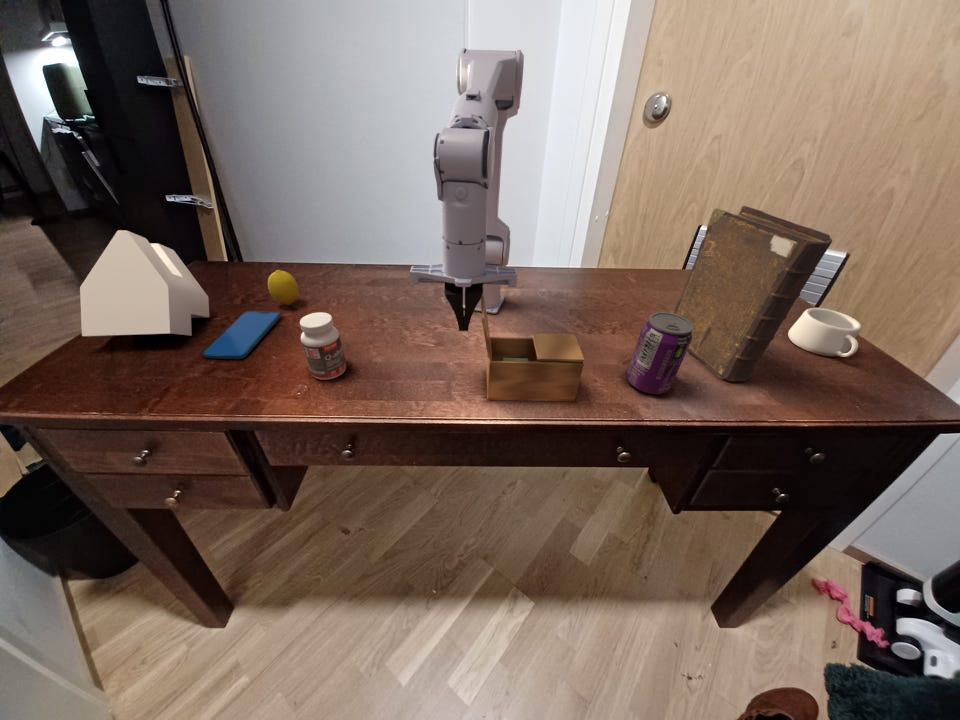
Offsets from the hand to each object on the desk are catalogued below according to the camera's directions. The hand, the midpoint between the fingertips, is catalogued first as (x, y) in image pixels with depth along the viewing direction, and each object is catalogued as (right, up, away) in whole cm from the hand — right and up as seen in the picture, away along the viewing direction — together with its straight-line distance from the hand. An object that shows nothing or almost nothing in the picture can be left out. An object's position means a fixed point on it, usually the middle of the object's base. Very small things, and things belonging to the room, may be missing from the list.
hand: (463, 327), depth 55 cm
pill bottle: (-23, -7, +7) cm, 25 cm away
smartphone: (-42, 0, +14) cm, 44 cm away
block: (+8, -9, +4) cm, 13 cm away
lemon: (-39, +7, +25) cm, 47 cm away
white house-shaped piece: (-60, +2, +17) cm, 62 cm away
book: (+45, -4, +14) cm, 47 cm away
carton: (+10, -9, +5) cm, 15 cm away
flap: (+4, 0, -2) cm, 4 cm away
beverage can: (+31, -9, +7) cm, 33 cm away
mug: (+70, -3, +17) cm, 72 cm away
